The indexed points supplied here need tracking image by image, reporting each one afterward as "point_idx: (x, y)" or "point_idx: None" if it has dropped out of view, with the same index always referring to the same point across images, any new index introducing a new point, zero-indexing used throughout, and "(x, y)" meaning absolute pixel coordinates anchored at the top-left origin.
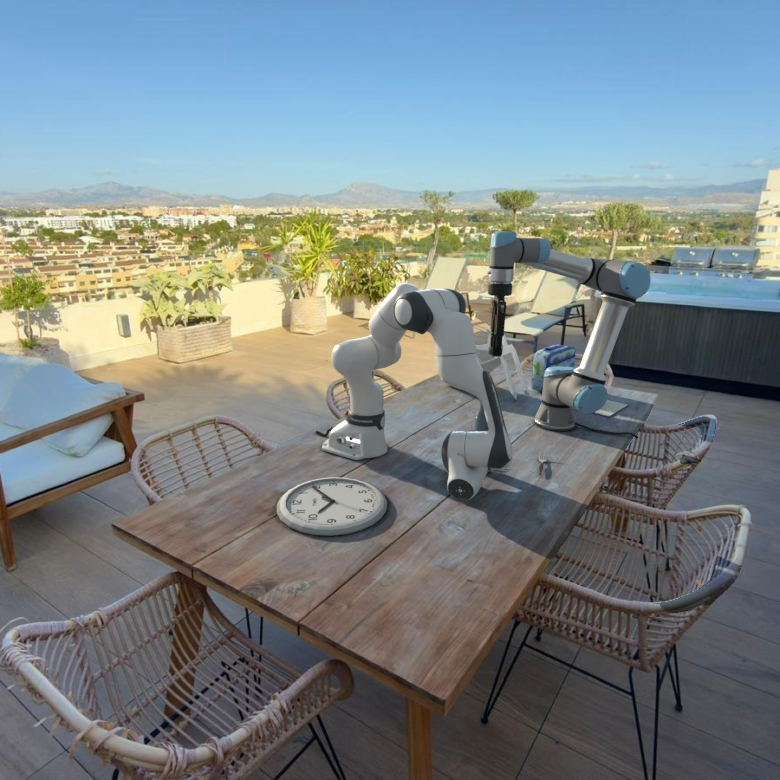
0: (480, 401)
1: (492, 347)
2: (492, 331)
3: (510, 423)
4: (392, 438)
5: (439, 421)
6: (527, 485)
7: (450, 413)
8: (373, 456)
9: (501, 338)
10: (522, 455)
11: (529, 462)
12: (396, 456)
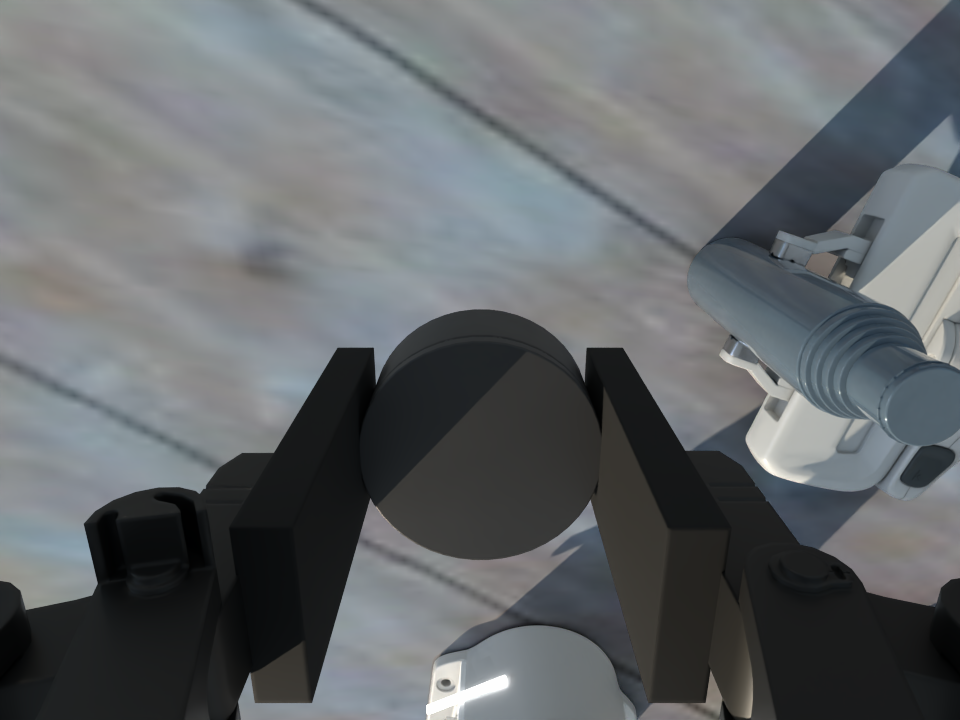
0: (925, 444)
1: (459, 503)
2: (237, 714)
3: (81, 10)
4: (412, 610)
5: (156, 418)
6: (902, 81)
7: (14, 356)
8: (612, 668)
9: (712, 518)
10: (565, 33)
11: (653, 11)
12: (594, 591)
